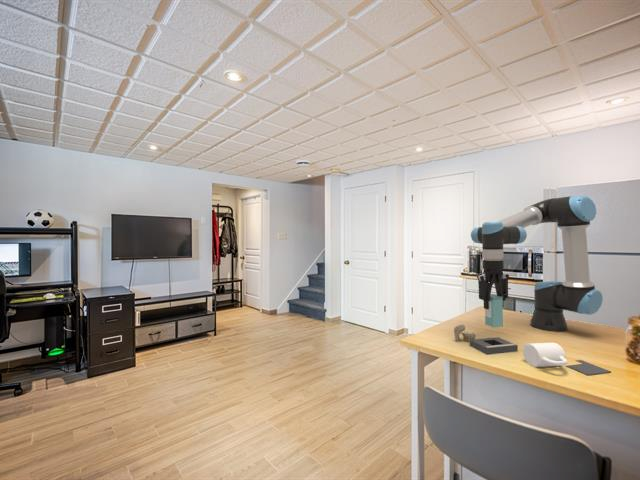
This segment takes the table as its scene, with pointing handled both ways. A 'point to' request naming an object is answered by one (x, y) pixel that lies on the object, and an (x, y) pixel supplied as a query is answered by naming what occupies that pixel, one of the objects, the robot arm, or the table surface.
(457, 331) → the bone
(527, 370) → the table surface
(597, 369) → the mat
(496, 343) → the grey socket block
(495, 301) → the plug
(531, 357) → the mug
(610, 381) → the table surface
